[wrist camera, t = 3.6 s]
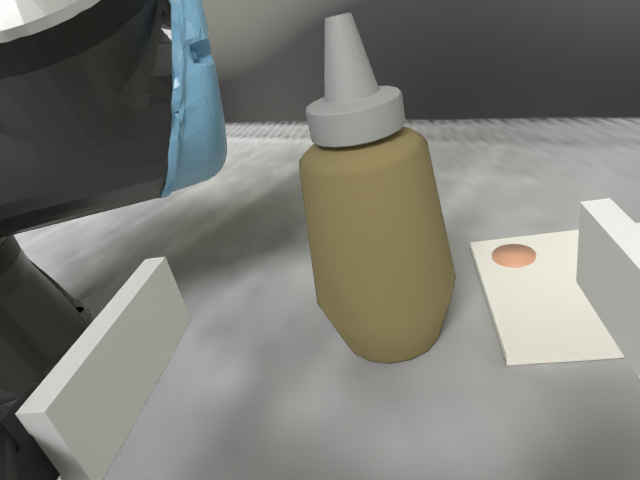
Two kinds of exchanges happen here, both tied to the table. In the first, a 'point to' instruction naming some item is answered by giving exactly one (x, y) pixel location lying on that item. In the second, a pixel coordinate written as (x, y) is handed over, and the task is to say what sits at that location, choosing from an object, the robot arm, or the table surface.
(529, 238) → the card
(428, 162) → the squeeze bottle
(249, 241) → the table surface
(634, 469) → the table surface
